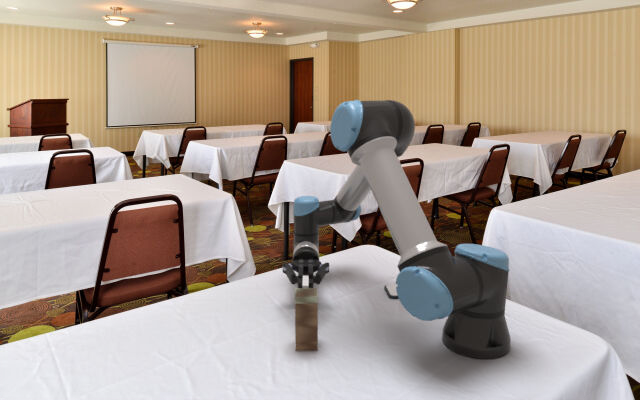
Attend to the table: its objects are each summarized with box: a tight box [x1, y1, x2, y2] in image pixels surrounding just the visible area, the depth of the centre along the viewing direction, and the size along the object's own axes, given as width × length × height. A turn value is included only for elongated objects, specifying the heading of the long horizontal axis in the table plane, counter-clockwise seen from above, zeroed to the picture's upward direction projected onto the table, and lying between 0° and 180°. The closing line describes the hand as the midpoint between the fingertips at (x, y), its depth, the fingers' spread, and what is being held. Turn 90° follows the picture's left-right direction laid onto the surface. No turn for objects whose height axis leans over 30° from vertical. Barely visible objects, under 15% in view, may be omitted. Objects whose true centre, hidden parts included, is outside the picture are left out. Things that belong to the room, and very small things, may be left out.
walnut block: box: [294, 287, 319, 352], centre depth 113 cm, size 5×5×13 cm
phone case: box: [384, 283, 399, 300], centre depth 145 cm, size 9×2×16 cm
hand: (305, 291), depth 118 cm, fingers closed
